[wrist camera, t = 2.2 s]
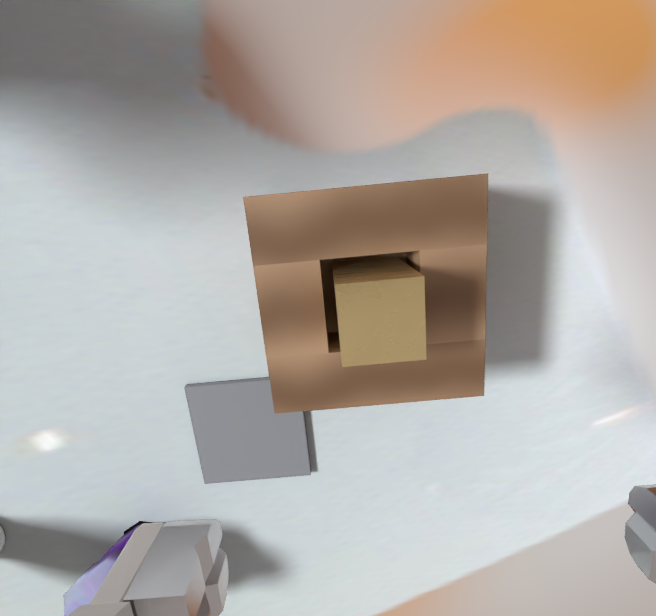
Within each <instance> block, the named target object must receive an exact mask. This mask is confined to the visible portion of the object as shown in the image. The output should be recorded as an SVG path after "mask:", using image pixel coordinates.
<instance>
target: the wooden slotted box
mask: <svg viewBox="0 0 656 616" xmlns="http://www.w3.org/2000/svg"><path fill="white" fill-rule="evenodd" d="M243 199H244V206H245V213H246V220H247V226H248V233H249V240H250V247H251V254H252V261H253V268H254V275H255V282H256V288H257V295H258V302H259V309H260V316H261V323H262V330H263V337H264V344H265V350H266V357H267V364H268V371H269V378H270V385H271V392H272V399H273V406H274V412H275V414H278V413H289V412H301V411H312V410H324V409H335V408H347V407H359V406H370V405H382V404H393V403H405V402H416V401H428V400H440V399H451V398H463V397H474V396H484V372H485V319H486V266H487V213H488V174H478V175H467V176H457V177H447V178H436V179H426V180H415V181H405V182H395V183H384V184H374V185H363V186H353V187H343V188H332V189H322V190H311V191H301V192H290V193H280V194H270V195H259V196H249V197H243ZM387 256H397V257H398V258H399V259H401V260H402V261H404V262H405V263H406V264H408V265H409V266H411V267H412V268H413V269H415V270H416V271H418V272H419V273H420V274H422V275H423V276H424V278H425V318H426V358H427V360H417V361H405V362H394V363H383V364H371V365H360V366H349V367H342V361H341V352H340V343H339V333H338V324H337V313H336V302H335V290H334V279H333V268H332V262H333V261H344V260H354V259H365V258H376V257H387Z"/></svg>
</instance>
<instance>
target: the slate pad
mask: <svg viewBox="0 0 656 616" xmlns="http://www.w3.org/2000/svg"><path fill="white" fill-rule="evenodd" d="M184 388H185V393H186V398H187V402H188V407H189V412H190V417H191V421H192V426H193V431H194V435H195V440H196V445H197V450H198V454H199V459H200V464H201V469H202V473H203V478H204V483H205V484H208V483H220V482H232V481H244V480H256V479H268V478H280V477H292V476H304V475H311V468H310V460H309V452H308V443H307V435H306V427H305V419H304V411H301V412H289V413H278V414H275V412H274V406H273V399H272V392H271V385H270V378H269V377H264V378H253V379H241V380H230V381H219V382H207V383H196V384H187V385H186V386H185V387H184Z"/></svg>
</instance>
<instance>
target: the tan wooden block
mask: <svg viewBox="0 0 656 616" xmlns="http://www.w3.org/2000/svg"><path fill="white" fill-rule="evenodd" d="M332 268H333V279H334V290H335V302H336V313H337V324H338V333H339V343H340V352H341V361H342V367H349V366H360V365H371V364H383V363H394V362H405V361H417V360H427V358H426V318H425V278H424V276H423V275H422V274H420V273H419V272H418V271H416V270H415V269H413V268H412V267H411V266H409V265H408V264H406V263H405V262H404V261H402V260H401V259H399V258H398V257H397V256H387V257H376V258H365V259H354V260H344V261H333V262H332Z"/></svg>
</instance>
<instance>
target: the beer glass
mask: <svg viewBox="0 0 656 616" xmlns="http://www.w3.org/2000/svg"><path fill="white" fill-rule="evenodd" d="M4 544H5V534H4V531H3V528H2V527H1V525H0V551H1V550H2V548H3V546H4Z"/></svg>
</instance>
